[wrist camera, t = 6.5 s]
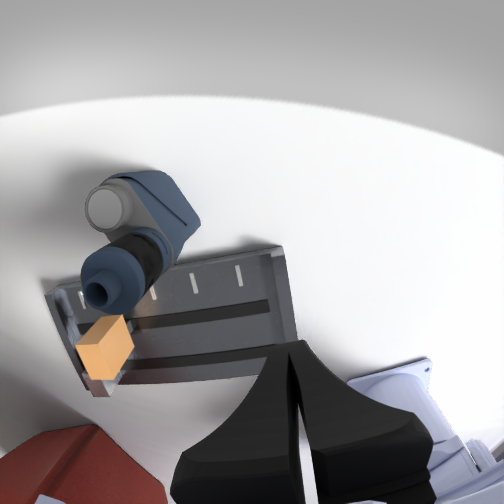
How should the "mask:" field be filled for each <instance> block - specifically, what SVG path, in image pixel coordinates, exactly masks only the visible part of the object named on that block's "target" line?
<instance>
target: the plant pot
mask: <svg viewBox="0 0 504 504" xmlns="http://www.w3.org/2000/svg"><path fill="white" fill-rule="evenodd" d="M39 495H45V496H48V497H50V498H53V499H56V500H59V501H62V502H64V503H65V504H168V501H167V497H166V493H165V489H164V486H163V485H162V484H161V483H160V482H159V481H157V480H156V479H155V478H154V477H153V476H151V475H150V474H149V473H148V472H147V471H145V470H144V469H143V468H142V467H141V466H140V465H138V464H137V463H136V462H135V461H134V460H133V459H132V458H130V457H129V456H128V455H127V454H126V453H125V452H124V451H123V450H122V449H121V448H120V447H119V446H118V445H117V444H116V443H115V442H114V441H113V440H112V439H111V438H110V437H109V436H108V435H107V434H106V433H105V432H104V431H103V430H101V429H100V428H99V427H97V426H95V425H84V426H79V427H73V428H67V429H61V430H55V431H49V432H42V433H40V434H38V435H36V436H34V437H32V438H31V439H29V440H27V441H26V442H24V443H23V444H21V445H19V446H18V447H16V448H15V449H13V450H12V451H10V452H9V453H7V454H6V455H5V456H3V457H2V458H0V504H35V502H36V500H37V499H38V497H39Z"/></svg>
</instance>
